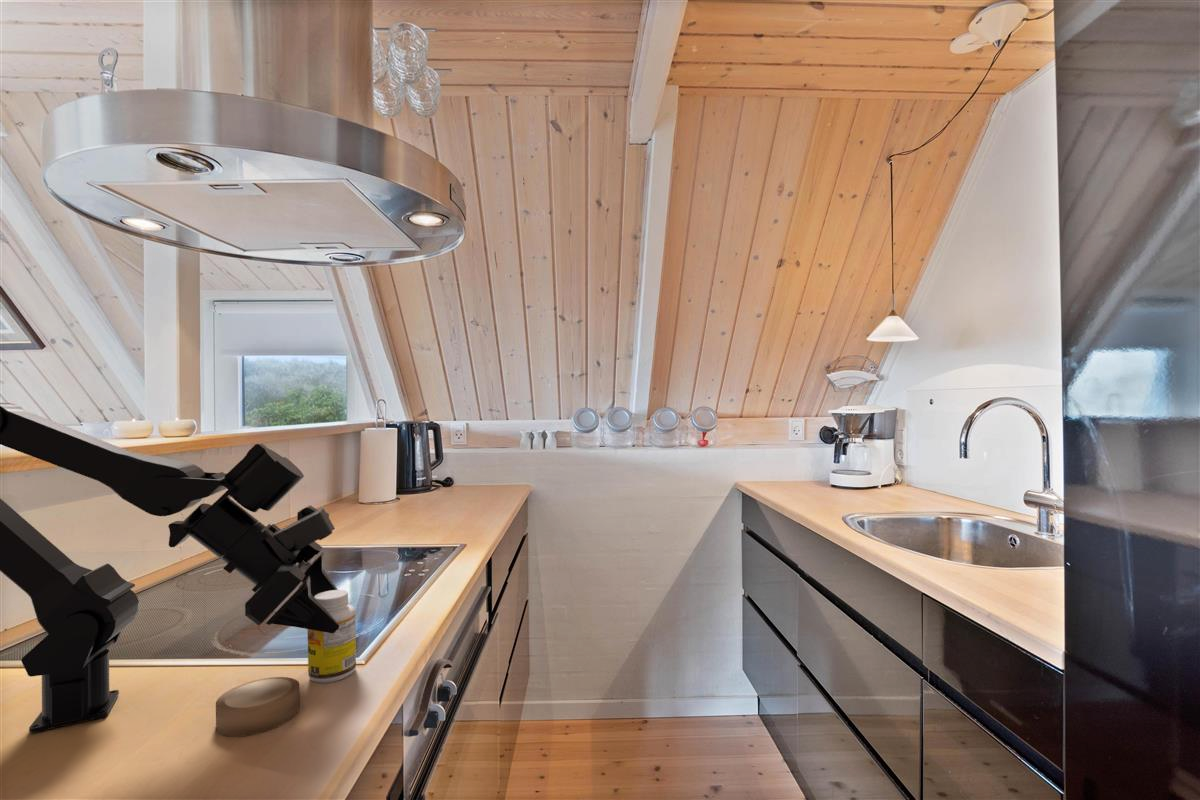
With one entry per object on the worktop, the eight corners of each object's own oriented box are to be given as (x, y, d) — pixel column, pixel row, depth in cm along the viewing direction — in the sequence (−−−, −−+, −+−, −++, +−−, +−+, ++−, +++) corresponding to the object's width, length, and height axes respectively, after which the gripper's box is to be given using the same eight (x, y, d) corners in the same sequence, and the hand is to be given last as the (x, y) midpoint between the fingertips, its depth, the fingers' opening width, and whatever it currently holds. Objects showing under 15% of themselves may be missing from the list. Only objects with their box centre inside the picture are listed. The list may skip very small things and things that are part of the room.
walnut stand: (218, 710, 66) (218, 686, 66) (298, 692, 70) (298, 669, 70) (212, 744, 59) (212, 718, 59) (301, 722, 63) (301, 697, 63)
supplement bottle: (308, 670, 76) (307, 591, 76) (354, 661, 78) (353, 585, 79) (308, 688, 71) (306, 604, 71) (357, 678, 73) (356, 596, 74)
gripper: (275, 500, 65) (384, 587, 68) (303, 481, 83) (388, 551, 86) (194, 580, 62) (311, 667, 66) (240, 543, 80) (331, 613, 83)
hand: (340, 617), depth 75 cm, fingers open, 9 cm apart
